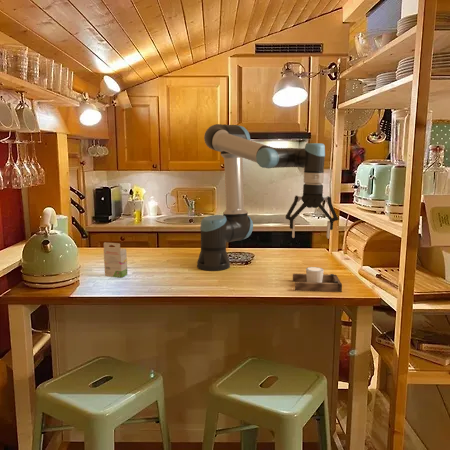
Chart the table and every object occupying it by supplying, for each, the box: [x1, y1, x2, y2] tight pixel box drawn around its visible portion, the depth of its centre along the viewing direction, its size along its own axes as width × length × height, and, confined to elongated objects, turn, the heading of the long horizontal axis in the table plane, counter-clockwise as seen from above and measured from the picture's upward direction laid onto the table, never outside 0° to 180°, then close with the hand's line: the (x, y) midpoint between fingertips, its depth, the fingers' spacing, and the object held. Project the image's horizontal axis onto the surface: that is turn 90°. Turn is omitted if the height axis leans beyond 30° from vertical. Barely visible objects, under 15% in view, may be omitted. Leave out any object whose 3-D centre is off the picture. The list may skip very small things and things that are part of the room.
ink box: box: [103, 242, 128, 278], centre depth 181 cm, size 9×5×15 cm, turn 71°
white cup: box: [305, 266, 325, 283], centre depth 168 cm, size 7×7×7 cm
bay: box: [292, 273, 343, 293], centre depth 168 cm, size 18×13×4 cm
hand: (310, 237), depth 168 cm, fingers open, 13 cm apart
